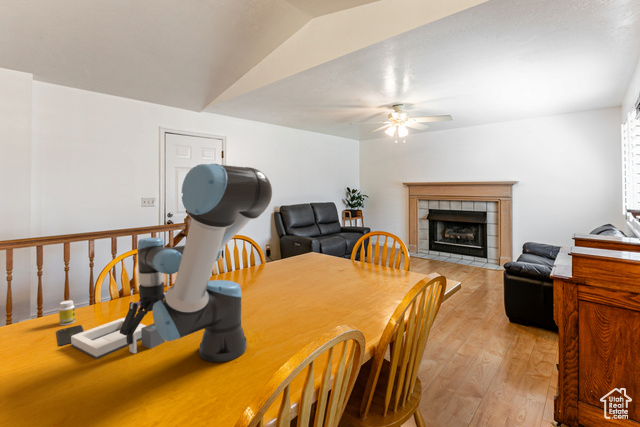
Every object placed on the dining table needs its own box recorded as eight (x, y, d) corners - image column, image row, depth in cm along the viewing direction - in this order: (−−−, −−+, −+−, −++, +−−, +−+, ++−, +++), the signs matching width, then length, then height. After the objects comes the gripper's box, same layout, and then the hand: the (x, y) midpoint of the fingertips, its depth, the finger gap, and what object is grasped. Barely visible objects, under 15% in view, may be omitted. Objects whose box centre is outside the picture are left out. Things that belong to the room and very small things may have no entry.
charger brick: (164, 342, 103) (164, 325, 103) (150, 348, 99) (150, 331, 99) (155, 338, 106) (155, 322, 105) (141, 345, 101) (141, 328, 101)
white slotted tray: (149, 336, 107) (149, 326, 107) (96, 359, 92) (96, 348, 92) (124, 326, 115) (124, 317, 114) (71, 346, 100) (71, 335, 99)
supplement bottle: (76, 322, 117) (75, 302, 116) (60, 326, 113) (59, 305, 113) (74, 319, 120) (73, 298, 119) (58, 322, 117) (57, 302, 116)
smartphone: (58, 345, 99) (56, 329, 110) (58, 348, 99) (56, 332, 110) (86, 338, 104) (81, 323, 115) (86, 340, 104) (81, 326, 115)
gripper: (176, 272, 113) (177, 326, 115) (105, 291, 91) (107, 357, 93) (190, 275, 110) (190, 330, 112) (119, 296, 88) (121, 364, 90)
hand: (153, 342), depth 102 cm, fingers open, 13 cm apart
